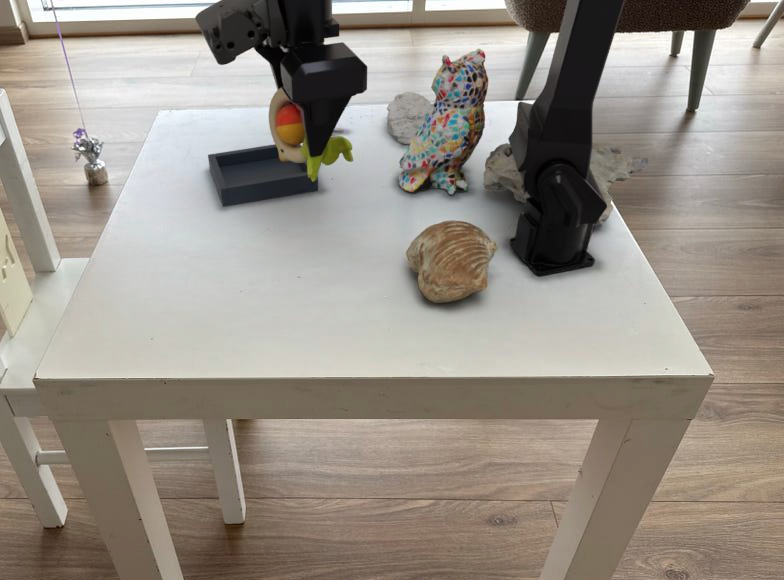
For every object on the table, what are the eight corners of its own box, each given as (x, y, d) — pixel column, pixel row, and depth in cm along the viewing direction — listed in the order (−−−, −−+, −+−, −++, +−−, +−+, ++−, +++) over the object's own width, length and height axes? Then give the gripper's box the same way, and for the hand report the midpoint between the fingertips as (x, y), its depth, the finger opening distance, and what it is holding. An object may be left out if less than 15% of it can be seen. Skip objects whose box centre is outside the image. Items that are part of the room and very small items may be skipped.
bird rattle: (266, 192, 72) (329, 185, 65) (224, 78, 68) (287, 56, 61) (309, 170, 75) (373, 160, 69) (272, 59, 71) (337, 37, 64)
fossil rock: (463, 171, 87) (514, 247, 77) (478, 126, 83) (533, 199, 73) (612, 174, 92) (678, 246, 82) (632, 132, 88) (704, 201, 78)
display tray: (299, 157, 94) (298, 140, 93) (318, 190, 88) (317, 173, 86) (210, 171, 92) (207, 154, 91) (222, 206, 86) (220, 189, 84)
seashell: (475, 263, 77) (399, 263, 76) (489, 202, 72) (408, 201, 72) (499, 315, 69) (415, 316, 69) (515, 251, 65) (426, 250, 64)
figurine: (415, 157, 93) (423, 33, 83) (485, 169, 90) (502, 43, 80) (390, 188, 87) (396, 60, 77) (464, 203, 84) (480, 71, 74)
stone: (413, 136, 92) (369, 92, 97) (407, 166, 96) (365, 122, 101) (475, 115, 95) (430, 73, 100) (466, 144, 99) (423, 103, 104)
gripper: (178, -63, 64) (201, 110, 75) (219, -3, 51) (240, 198, 61) (301, -76, 66) (306, 94, 77) (372, -22, 53) (367, 176, 63)
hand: (303, 136), depth 69 cm, fingers closed on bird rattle, 8 cm apart
